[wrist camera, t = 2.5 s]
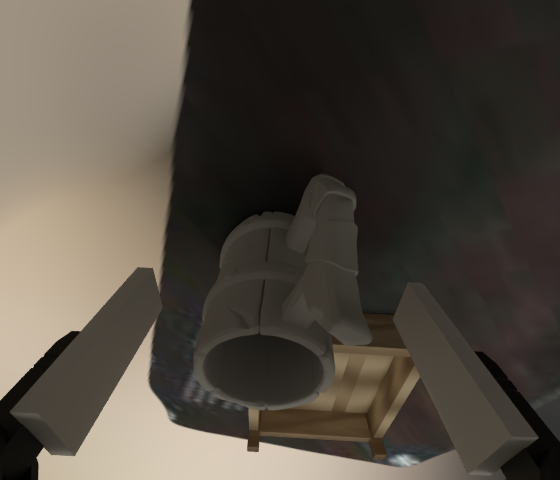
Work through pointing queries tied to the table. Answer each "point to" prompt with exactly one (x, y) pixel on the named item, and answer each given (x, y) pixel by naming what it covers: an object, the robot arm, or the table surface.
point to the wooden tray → (350, 394)
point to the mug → (283, 303)
